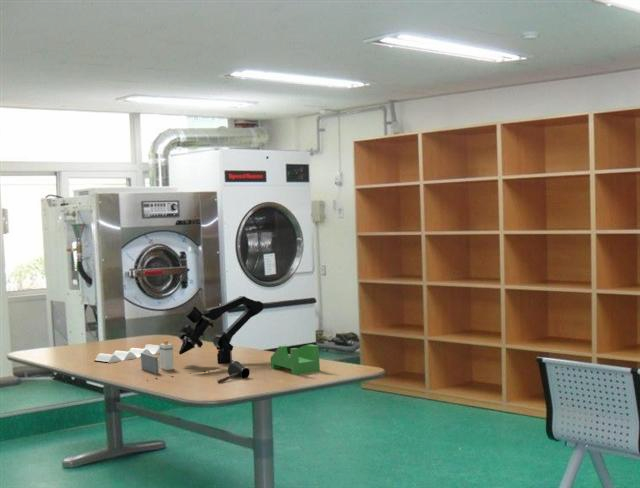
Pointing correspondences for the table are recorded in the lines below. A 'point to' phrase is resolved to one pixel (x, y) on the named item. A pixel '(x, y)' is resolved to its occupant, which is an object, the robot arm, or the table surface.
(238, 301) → the robot arm
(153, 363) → the grey block
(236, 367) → the coffee pot
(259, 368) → the table surface
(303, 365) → the green cradle stand
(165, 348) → the block
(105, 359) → the white zigzag rack
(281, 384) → the table surface
